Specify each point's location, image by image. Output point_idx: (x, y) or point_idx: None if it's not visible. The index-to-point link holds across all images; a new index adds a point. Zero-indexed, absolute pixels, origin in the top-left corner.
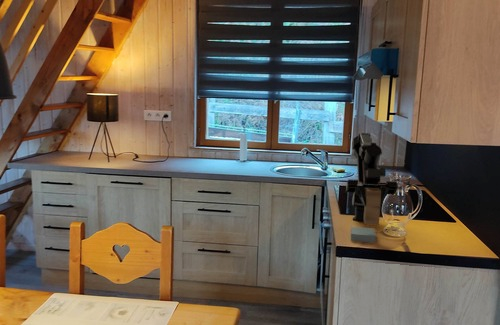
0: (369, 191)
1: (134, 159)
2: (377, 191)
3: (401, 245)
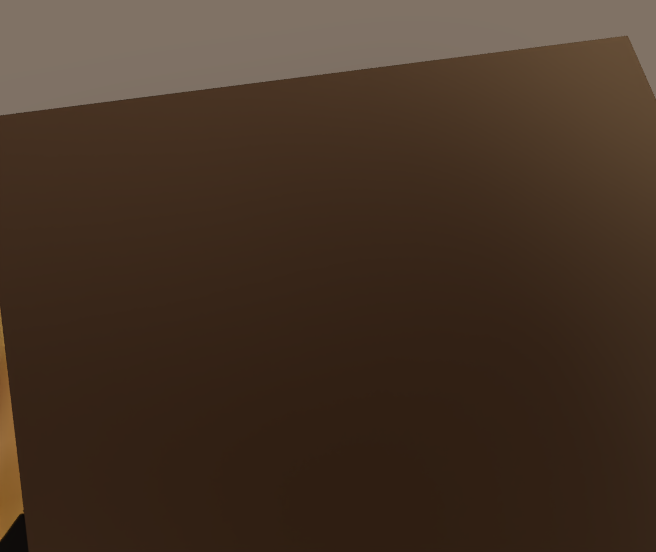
0: (532, 64)
1: None
2: (194, 107)
3: (4, 354)
